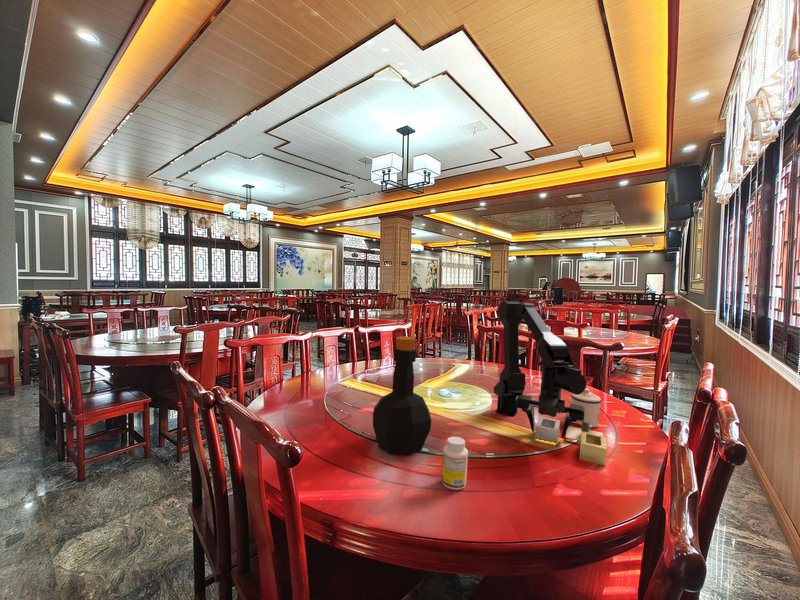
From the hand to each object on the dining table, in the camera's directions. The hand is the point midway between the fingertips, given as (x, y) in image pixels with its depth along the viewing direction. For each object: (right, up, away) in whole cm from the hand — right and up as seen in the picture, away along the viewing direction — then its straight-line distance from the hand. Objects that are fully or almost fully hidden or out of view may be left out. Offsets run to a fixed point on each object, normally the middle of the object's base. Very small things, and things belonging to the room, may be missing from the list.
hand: (547, 434), depth 110 cm
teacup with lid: (+18, -1, +15) cm, 24 cm away
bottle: (-44, 0, -10) cm, 45 cm away
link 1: (0, -1, 0) cm, 1 cm away
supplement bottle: (-32, -1, -27) cm, 42 cm away
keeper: (+12, -2, +1) cm, 12 cm away
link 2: (+8, -2, -10) cm, 13 cm away
